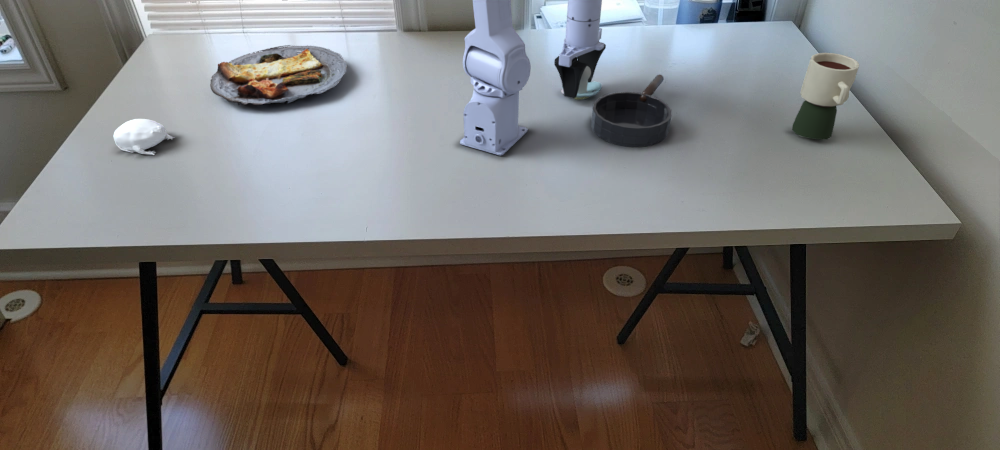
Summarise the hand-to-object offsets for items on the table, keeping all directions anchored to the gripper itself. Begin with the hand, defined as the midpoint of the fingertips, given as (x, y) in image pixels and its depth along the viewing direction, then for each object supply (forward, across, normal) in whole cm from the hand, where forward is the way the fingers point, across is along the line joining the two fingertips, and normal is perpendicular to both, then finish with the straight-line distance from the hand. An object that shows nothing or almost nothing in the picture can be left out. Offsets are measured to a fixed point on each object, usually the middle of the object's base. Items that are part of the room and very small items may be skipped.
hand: (577, 89), depth 120 cm
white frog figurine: (+2, -50, +55) cm, 74 cm away
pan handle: (-1, +4, -12) cm, 13 cm away
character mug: (+2, +6, -40) cm, 40 cm away
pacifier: (+2, +1, 0) cm, 2 cm away
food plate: (+2, -22, +52) cm, 56 cm away
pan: (+1, -6, -12) cm, 14 cm away
